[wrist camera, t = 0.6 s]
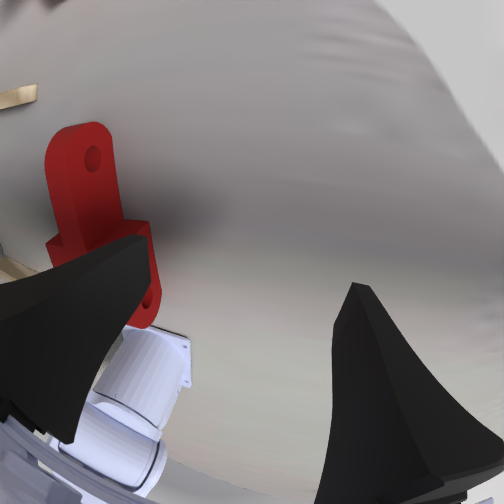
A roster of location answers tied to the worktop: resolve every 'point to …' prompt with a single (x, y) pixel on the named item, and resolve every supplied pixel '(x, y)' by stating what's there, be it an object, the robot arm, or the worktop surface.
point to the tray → (3, 264)
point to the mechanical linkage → (92, 205)
